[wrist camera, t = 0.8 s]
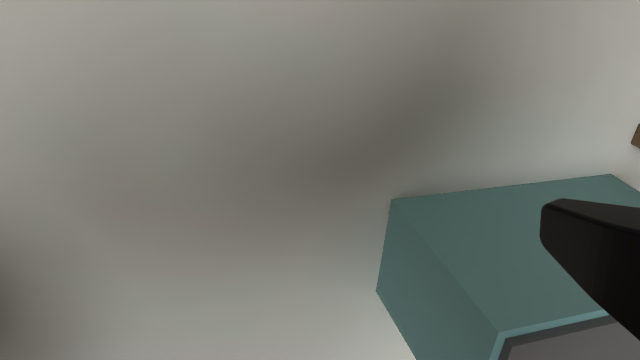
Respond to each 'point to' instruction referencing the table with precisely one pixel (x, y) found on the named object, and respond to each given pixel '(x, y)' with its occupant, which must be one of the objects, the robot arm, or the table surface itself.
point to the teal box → (495, 277)
